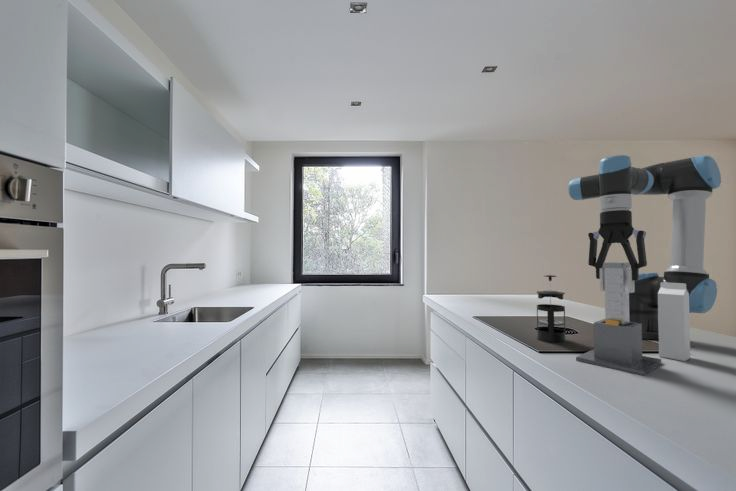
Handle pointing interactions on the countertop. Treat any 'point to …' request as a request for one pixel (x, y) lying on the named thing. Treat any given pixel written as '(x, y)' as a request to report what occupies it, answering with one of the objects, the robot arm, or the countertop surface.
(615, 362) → the base
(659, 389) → the countertop surface
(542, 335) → the french press
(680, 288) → the milk
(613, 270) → the column
